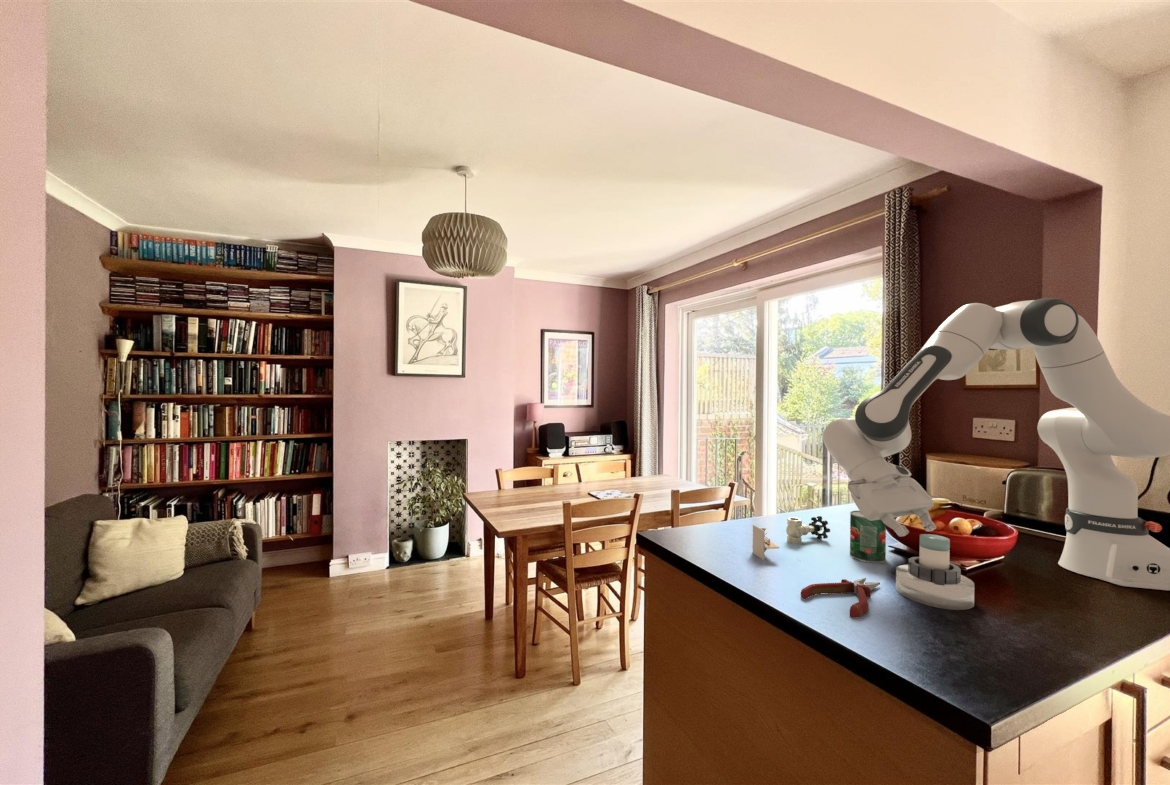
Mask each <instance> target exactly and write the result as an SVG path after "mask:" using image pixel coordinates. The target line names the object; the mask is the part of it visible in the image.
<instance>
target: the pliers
mask: <svg viewBox="0 0 1170 785" xmlns="http://www.w3.org/2000/svg"><path fill="white" fill-rule="evenodd" d="M880 585H881V583H880V582H877V581H876V582H875V581H874V582H873V581H867V577H863V578H859V579H856V580H853V582H852V581H849V580H848V579H844V578H843V579H841V581H840V582H821V583H820V582H819V583H813V584H809V585H807V586H805V587H803V588H802V589H801V591H800V598H801V599H802V598H803V599H802V600H804V599H805V600H807V599H809V598H811V597H813V596H816V595H815V594H817V595H822V594H821V593H828V594H829V595H831V594H832V593H836V594H856V596H857V601H858V602H856V603H853V604H852V605H851V606H850V608H849V617H850V618H853V619H859V618H861V617H862V616H864V615H866V614H867V613H868V611H869V606H870V605H869V601H868V599H871V598H872V590H874V589H875V588H877V587H878V586H880ZM830 593H831V594H830ZM828 594H827V595H828ZM812 595H813V596H812ZM810 596H811V597H810ZM808 597H809V598H808ZM806 598H807V599H806Z"/></svg>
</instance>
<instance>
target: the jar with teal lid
mask: <svg viewBox="0 0 1170 785" xmlns="http://www.w3.org/2000/svg"><path fill="white" fill-rule="evenodd" d="M950 548H951V541H950V538H948V537H945V536H942V535H938V534H933V533H921V534H919V556H918V557H919V565H922V566H925V567H928V568H932V569H934V568H939V569H944V570H949V562H950V560H951V559H950V555H951V553H950V551H951V550H950ZM950 563H951V562H950Z"/></svg>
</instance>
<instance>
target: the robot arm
mask: <svg viewBox="0 0 1170 785" xmlns="http://www.w3.org/2000/svg"><path fill="white" fill-rule="evenodd" d="M1029 348H1031V350H1033V352H1034V355H1035V358H1036V361H1037V364H1038V366H1039V369H1040V371H1041V372H1042V375H1043V378H1044V380H1045V382H1046V384H1047V386H1048V389H1049V391H1050V393H1051V394H1052V395H1054V397H1056V398H1057V399H1059V400H1061V401H1063V402H1066V403H1067V404H1069V405H1071V406H1073V407H1067V408H1066V407H1065V408H1059V409H1053V410H1049V411H1047V412H1045V413H1044V414H1043V415H1041V417H1040V418H1039V420H1038V423H1037V428H1036V429H1037V433H1038V436H1039V438H1040V439H1041V440H1042V442H1043V443H1044V444H1046V445H1048V447H1049V448H1051V449H1052V450H1053V451H1054V453H1055V454H1056V455H1057V457H1058V458H1059V461H1060V462H1061V464H1062V465H1063V468H1064V471H1065V473H1066V478H1067V492H1068V493H1067V496H1068V503H1067V506H1068V507H1066V508H1065V515H1064V526H1065V527H1064V528H1065V531H1066V536H1065V542H1064V545H1063V549H1062V553H1061V555H1060V558H1059V560H1058V562H1057V564H1058V565H1059V566H1060V567H1062V568H1063V569H1066V570H1068V571H1070V572H1074V573H1076V574H1078V575H1083V576H1086V577H1091V578H1094V579H1099V580H1101V581H1105V582H1109V583H1111V584H1114V585H1117V586H1121V587H1130V588H1141V589H1149V590H1150V589H1151V590H1161V591H1170V547H1168V546H1166V545H1165V544H1163V543H1162V542H1160V541H1159V540H1157V539H1156V538H1154V537H1153V536H1151V535H1150V534H1149V531H1151V532H1153V533H1159V532H1161V531H1162V529H1163V527H1162V525H1161V524H1160V523H1158V522H1154V521H1151V520H1150V521H1147V520H1145V519H1143V518H1142V517H1139V516H1138V514H1139V513H1138V510H1139V506H1138V505H1139V504H1138V502H1139V487H1138V485H1137V483H1136V481H1135V480H1134V479H1133V478H1132V477H1130V476H1128V475H1127V474H1125V473H1124V472H1122V471H1121V469H1119V468H1118V467H1117V466H1116V464H1115V462H1114V460H1113V457H1120V458H1121V457H1122V458H1130V459H1150V458H1165V457H1168V456H1170V415H1169V414H1167V413H1163V412H1161V411H1159V410H1157V409H1154V408H1152V407H1151V406H1150V405H1148V404H1146V403H1145V402H1143V400H1141V399H1139V398H1138V397H1137V396H1135V395H1134V394H1133V393H1132V392H1131V391H1129V390H1128V388H1127V387H1126V386H1124V385H1123V383H1122V382H1121V381H1120V379H1119V378H1118V375H1117V374H1116V373H1115V371H1114V369H1113V367H1112V365H1111V363H1110V361H1109V359H1108V356H1107V354H1106V351H1105V349H1104V348H1103V346H1102V343H1101V342H1100V340H1099V338H1098V336H1097V335H1096V332H1094V330H1093V328H1091V326H1090V324H1089V323H1088V322H1087V320H1086V319H1085V318H1084V317H1082V316H1081V315H1080V314H1078V312H1077V311H1076V309H1075V307H1074V306H1073V305H1072V304H1070V303H1069V302H1068V301H1067V300H1063V299H1060V298H1054V297H1049V298H1048V297H1047V298H1046V297H1042V298H1036V299H1032V300H1031V299H1030V300H1020V301H1015V302H1014V301H1013V302H1011V303H1008V304H1004V305H999V306H996V307H993V306H991V305H988V304H986V303H981V302H980V303H979V302H973V303H972V302H971V303H967V304H964V305H962V306H961V307H959V308H957V309H956V310H955V311H954V312H953V313H952V314H951V315H950V316H948V317H947V318H946V319H945V320H944V321H943V322H942V323H941V324H940V325H939V326H938V327H937V329H936V330H935V331H934V332H933V333H932V334H931V335H930V337H929V338H928V339H927V341H926V342H925V343H924V345H923V346H922V347H921V348H920V350H918V352H917V353H916V354H915V355H914V356H913V357H912V358H911V359H910V360H909V361H908V362H907V363H906V364H905V366H903V368H902V369H900V371H899V372H898V373H897V374H896V375H895V376H894V377H893V378H892V380H890V381H889V382H888V384H886V385H885V386H884V387H883V388H882V389H881V390H879V391H877V392H876V393H873V394H872V395H870V396H869V397H866V398H865V399H864V400H862V401H861V403H859V404H858V406H857V408H856V410H855V412H854V413H855V414H854V418H853V417H852V418H851V417H850V418H848V417H847V418H846V417H838V418H836V419H833V421H831V422H830V423H829V424H828V425H827V426H826V427H825V429H824V430H823V431H822V442H823V444H824V446H825V448H826V450H827V451H828V452H829V455H830V456H831V457H832V459H833V460H834V461H835V462H836V463H837V465H839V466H840V467H841V468H843V470H844V471H845V473H846V476H847V477H848V479H849V481H848V483H847V490H848V491H849V492H850V496H851V498H852V501H853V503H854V504H855V506H856V507H857V509H858V511H860V512H861V513H862V515H863V516H864V517H865V518H866V519H868V520H869V521H874V520H880V519H881V520H882V522H883V523H884V524H885V525H886V526H887V527H888V528H890V529H892V530H893V532H894V533H896V535H897V536H898V537H905V536H907V535H908V534H909V533H910V531H909V529H908V528H907V526H906V525H904V524H901V523H900V522H898V521H897V519H895V518H900V517H905V516H912V515H915V516H916V517H917V519H920V521H921V523H922V524H921V527H922V528H923V529H924V531H925V532H932V531H935V530H936V529H937V525H936V524H935V523H934V521H933V520H932V517H931V515H930V512H929V510H930V509H932V508H933V507H934V506H935V505H934V501H933V499H932V497H931V496H930V495H929V493H927V491H926V490H925V489H924V488H923V486H922V485H921V484H920V483H919V482H918V481H917V480H916V479H914V478H912V477H911V476H912V473H911V471H910V470H909V469H908V468H906V467H904V466H900V465H896V464H893V463H891V462H889V461H887V460H886V459H885V458H887V457H890V456H892V455H896V454H898V453H901V452H902V451H904V450H905V449H907V448H908V447H909V445H910V444H911V442H912V437H913V436H912V428H911V425H910V421H909V419H910V411H911V410H912V406H913V404H914V403H915V402H916V401H917V400H918V399H919V398H920V397H921V396H922V395H923V393H924V392H926V390H927V389H928V388H929V387H930V386H931V385H932V384H933V383H934V382H935V381H936V380H942V381H943V380H944V381H952V380H955V381H956V380H959V379H961V378H964V376H965V375H967V374H968V373H969V372H970V371H972V370H973V369H974V368H975V367H976V365H978V363H980V361H981V360H982V358H983V357H984V356H985V355H986V353H987V352H988V351H997V350H1001V351H1002V350H1003V351H1005V350H1007V351H1008V350H1009V351H1010V350H1011V351H1012V350H1014V351H1015V350H1016V351H1017V350H1022V349H1029ZM1112 456H1113V457H1112Z"/></svg>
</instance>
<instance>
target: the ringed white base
mask: <svg viewBox="0 0 1170 785" xmlns="http://www.w3.org/2000/svg"><path fill="white" fill-rule="evenodd" d="M961 570H962V568H960V566H958V565H957V564H955V563H952V562H949V570H944V569H939V568H934V569H932V568H928V567H925V566H922V565H919V556H912V557H910V558H907V564H902V565H898V566H896V567H895V590H896V592H898V594H900V595H902V596H903V597H905V598H907V599H909V600H912V601H913V602H917V603H919V604H923V605H926V606H929V607H933V608H938V609H945V610H951V611H965V610H970V609H972V608H974V607H975V582H974V581H973V580H972V579H971V578H968V577H967V576H965V575H963V574H962V571H961Z"/></svg>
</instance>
